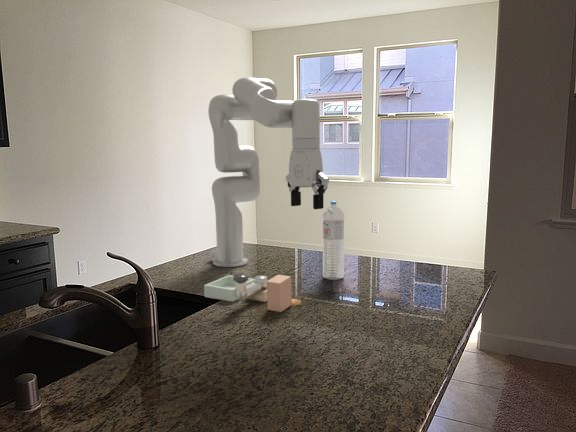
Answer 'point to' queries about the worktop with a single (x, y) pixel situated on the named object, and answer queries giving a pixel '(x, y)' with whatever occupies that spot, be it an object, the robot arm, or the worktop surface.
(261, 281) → the crank
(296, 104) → the robot arm
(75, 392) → the worktop surface
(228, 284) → the tray
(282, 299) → the block
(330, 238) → the water bottle
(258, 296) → the crank base
